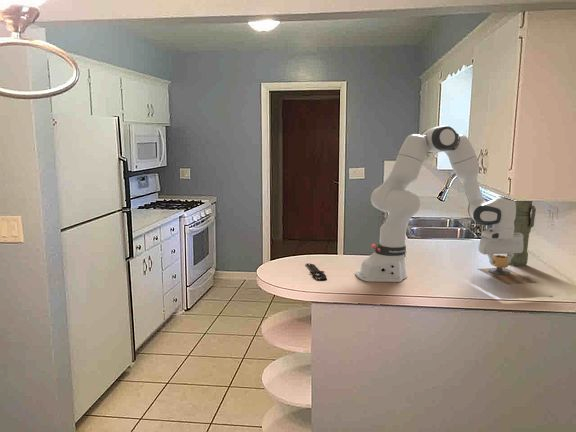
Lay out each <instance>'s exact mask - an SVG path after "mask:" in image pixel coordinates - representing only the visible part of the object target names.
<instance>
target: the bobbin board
mask: <svg viewBox="0 0 576 432" xmlns="http://www.w3.org/2000/svg"><path fill="white" fill-rule="evenodd" d="M477 270H478V271H481V272H483V273H484V274H486V275H489V276H491V277H492V278H494V279H497V280H498V281H500V282H502V283H504V284H506V285H518V284H537V283H538V282H537V281H535V280H532V279H531V278H528V277H527V276H524V275H522V274H519V273H517V272H515V271H513V270H512V269H509V268H508V267H503V268H501V267H492V268H491V267H490V268H489V267H487V268H477Z"/></svg>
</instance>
